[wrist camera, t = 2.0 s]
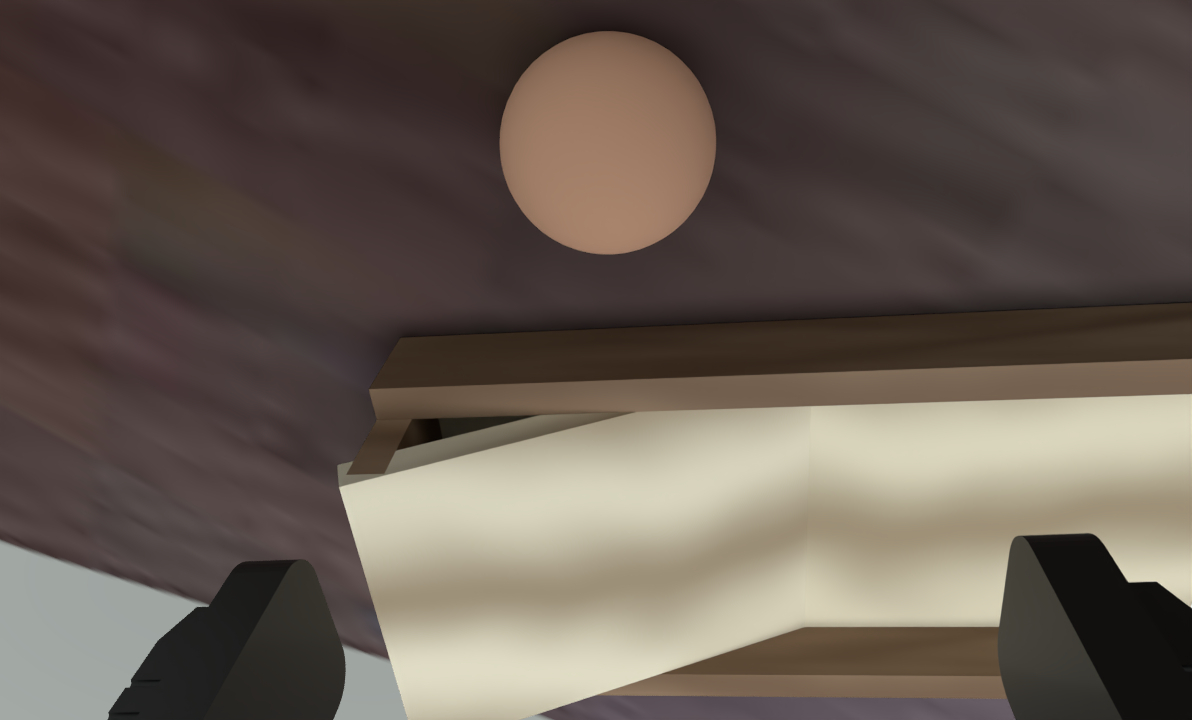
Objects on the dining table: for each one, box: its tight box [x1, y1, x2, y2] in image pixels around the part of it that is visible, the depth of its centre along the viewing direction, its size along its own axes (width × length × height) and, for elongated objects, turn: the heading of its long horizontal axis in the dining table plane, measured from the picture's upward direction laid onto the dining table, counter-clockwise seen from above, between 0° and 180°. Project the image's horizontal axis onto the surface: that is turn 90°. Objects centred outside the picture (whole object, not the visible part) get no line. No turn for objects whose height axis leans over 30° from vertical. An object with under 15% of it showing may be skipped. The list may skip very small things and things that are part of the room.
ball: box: [500, 31, 716, 254], centre depth 20 cm, size 5×5×5 cm
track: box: [337, 303, 1192, 720], centre depth 24 cm, size 12×35×6 cm, turn 95°
